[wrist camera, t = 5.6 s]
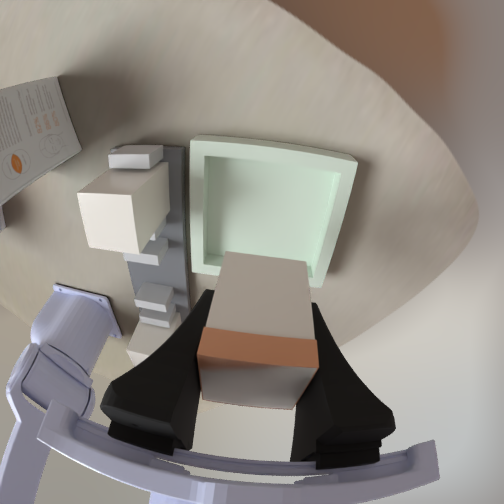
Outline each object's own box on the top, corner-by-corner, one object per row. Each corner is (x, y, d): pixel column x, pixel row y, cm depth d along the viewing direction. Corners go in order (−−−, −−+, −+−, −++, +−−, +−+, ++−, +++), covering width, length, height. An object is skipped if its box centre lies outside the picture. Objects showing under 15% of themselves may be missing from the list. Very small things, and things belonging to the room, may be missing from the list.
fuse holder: (148, 328, 31) (139, 349, 29) (115, 143, 18) (92, 155, 16) (193, 337, 31) (187, 359, 29) (184, 143, 18) (168, 154, 15)
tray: (197, 258, 24) (192, 272, 23) (198, 134, 18) (190, 140, 16) (318, 273, 24) (321, 287, 22) (350, 154, 18) (358, 162, 16)
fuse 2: (151, 328, 30) (135, 369, 25) (145, 306, 28) (126, 349, 23) (183, 334, 30) (170, 378, 25) (180, 312, 28) (164, 359, 23)
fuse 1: (126, 206, 21) (89, 247, 16) (121, 161, 18) (76, 192, 13) (170, 210, 21) (139, 254, 16) (168, 162, 18) (131, 195, 13)
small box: (25, 105, 15) (-58, 141, 7) (58, 74, 14) (-39, 100, 6) (49, 172, 20) (-27, 229, 11) (84, 150, 19) (-5, 208, 10)
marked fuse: (222, 306, 16) (202, 399, 11) (224, 249, 13) (196, 353, 8) (291, 315, 16) (292, 409, 11) (307, 260, 13) (319, 367, 8)
